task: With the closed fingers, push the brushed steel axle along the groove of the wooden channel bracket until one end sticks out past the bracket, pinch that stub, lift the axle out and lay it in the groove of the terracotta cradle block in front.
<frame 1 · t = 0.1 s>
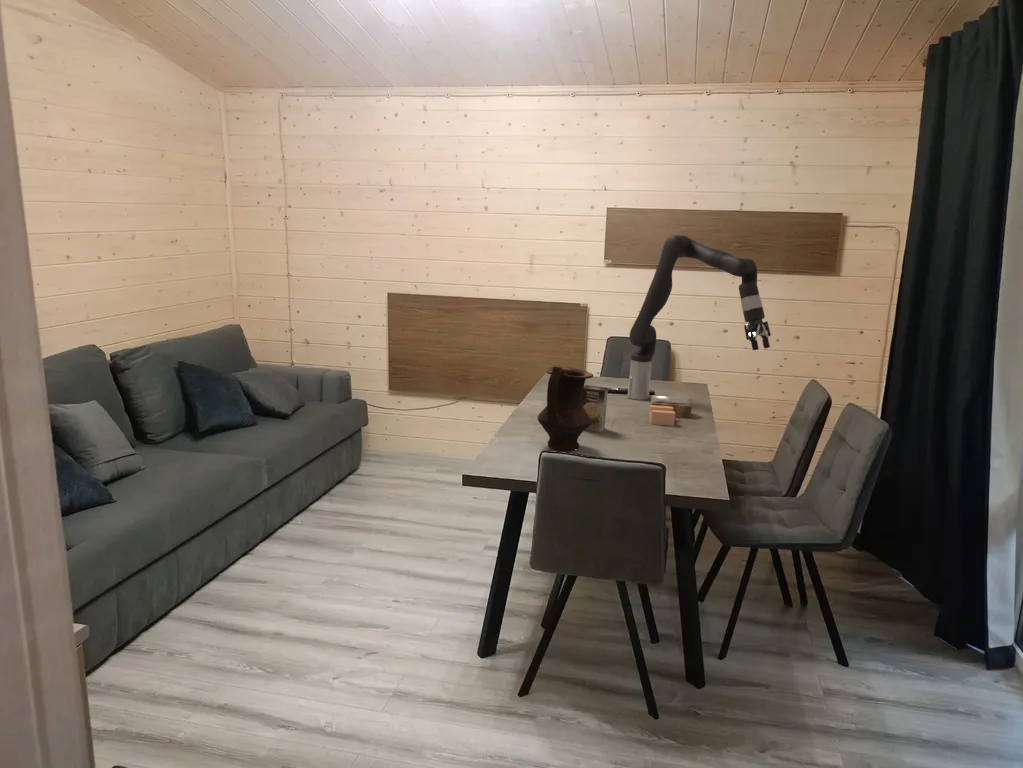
hand: (761, 349, 283), 31 cm above the table, tool tilted 20°, fingers open, 8 cm apart
coffee box: (591, 429, 276), on the table
jug: (561, 447, 251), on the table
terracotta cradle: (661, 421, 291), on the table
steel axle: (670, 405, 302), point 3 cm above the table, touching wooden channel bracket
wooden channel bracket: (669, 413, 303), on the table
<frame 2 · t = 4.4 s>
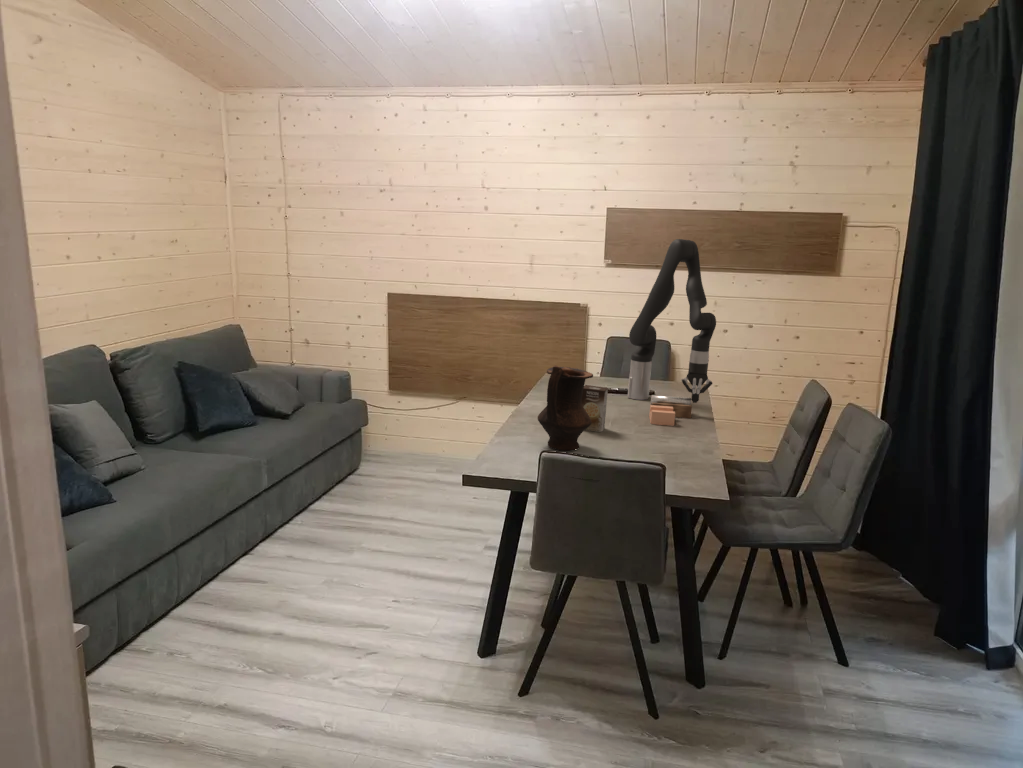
hand: (694, 402, 301), 6 cm above the table, tool pointing down, fingers closed
steel axle: (670, 405, 302), point 4 cm above the table, touching gripper, wooden channel bracket
everything else where it was.
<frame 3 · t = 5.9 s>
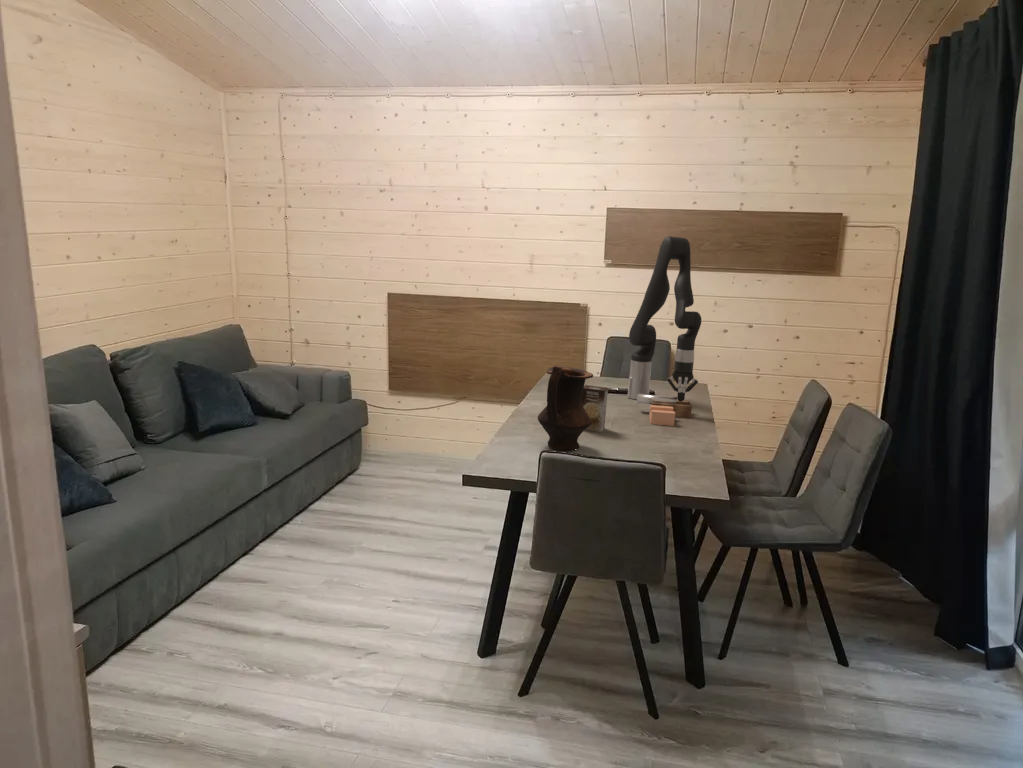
hand: (680, 401, 301), 6 cm above the table, tool pointing down, fingers closed
steel axle: (656, 404, 303), point 4 cm above the table, touching gripper, wooden channel bracket
everything else where it was.
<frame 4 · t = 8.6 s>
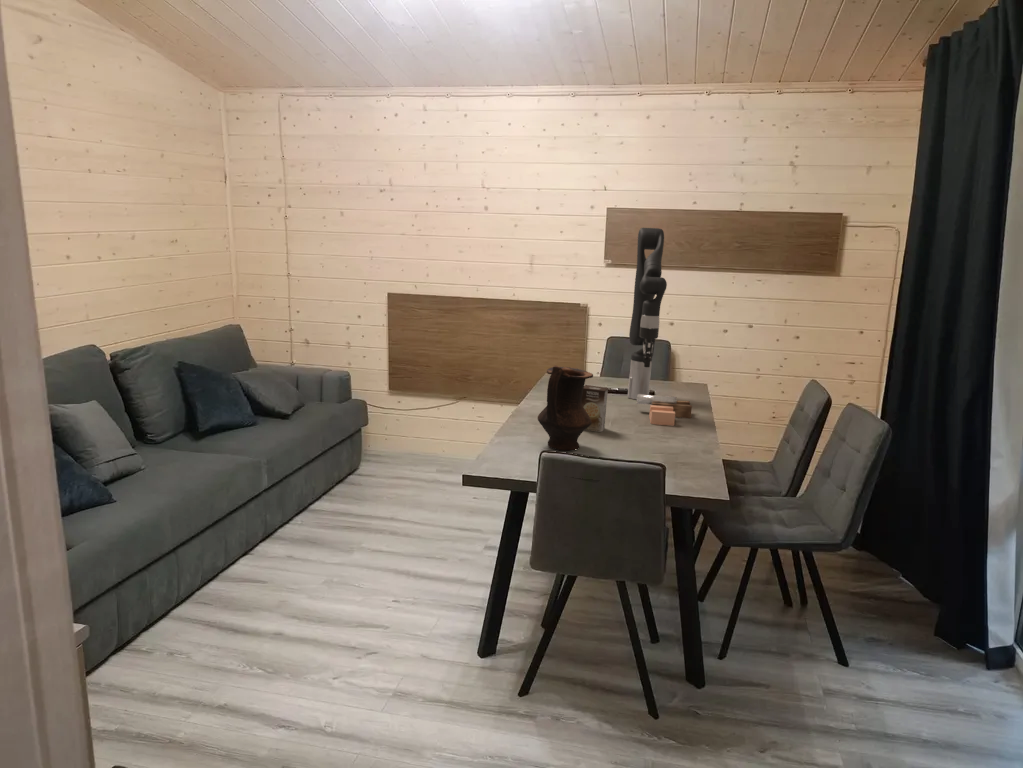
hand: (646, 365, 300), 20 cm above the table, tool pointing down, fingers open, 8 cm apart
steel axle: (656, 404, 303), point 4 cm above the table, touching wooden channel bracket
everything else where it was.
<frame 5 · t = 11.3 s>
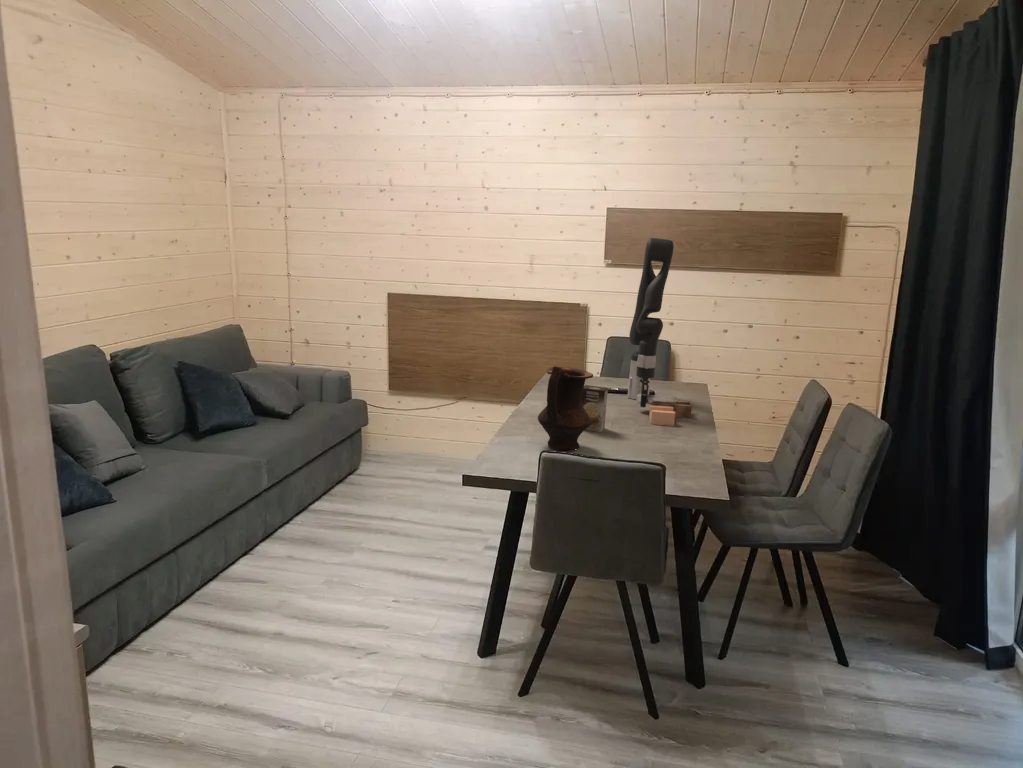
hand: (642, 405, 304), 3 cm above the table, tool pointing down, fingers closed on steel axle, 4 cm apart
steel axle: (656, 404, 303), point 4 cm above the table, touching gripper, wooden channel bracket
everything else where it was.
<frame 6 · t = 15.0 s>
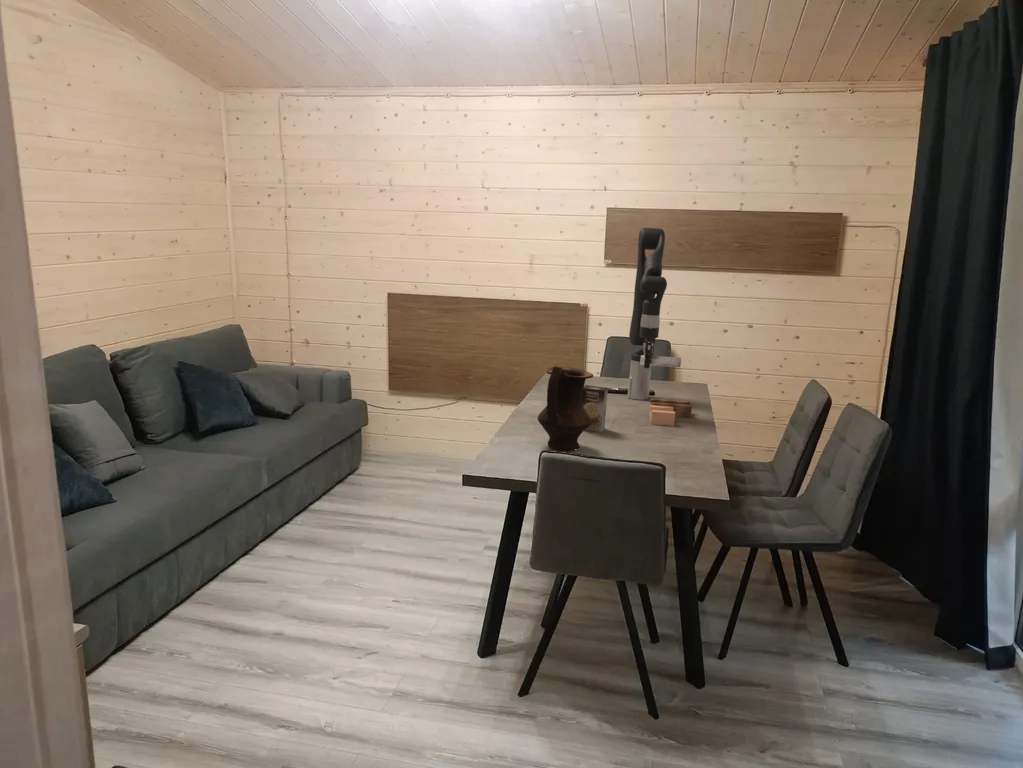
hand: (646, 366, 299), 19 cm above the table, tool pointing down, fingers closed on steel axle, 4 cm apart
steel axle: (659, 366, 298), point 20 cm above the table, touching gripper
everything else where it was.
when the fingers open (4 cm above the table, at t = 19.0 s): steel axle drops 2 cm, resting on terracotta cradle.
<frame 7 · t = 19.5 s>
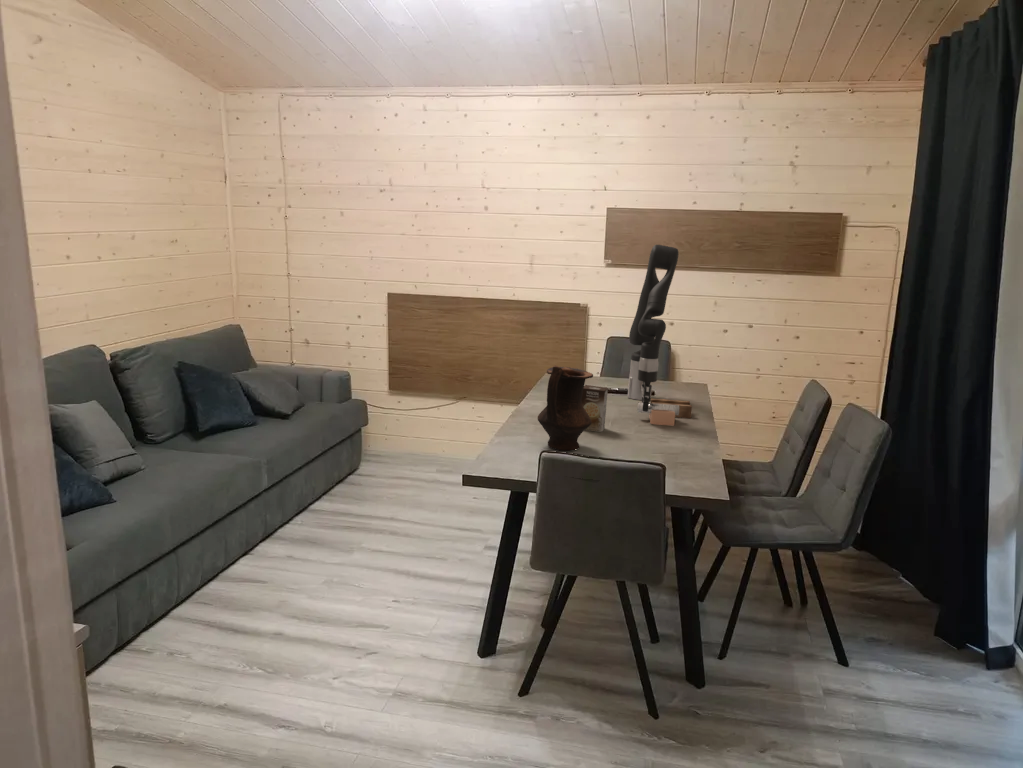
hand: (644, 408, 291), 5 cm above the table, tool pointing down, fingers open, 8 cm apart
steel axle: (657, 413, 291), point 3 cm above the table, touching terracotta cradle
everything else where it was.
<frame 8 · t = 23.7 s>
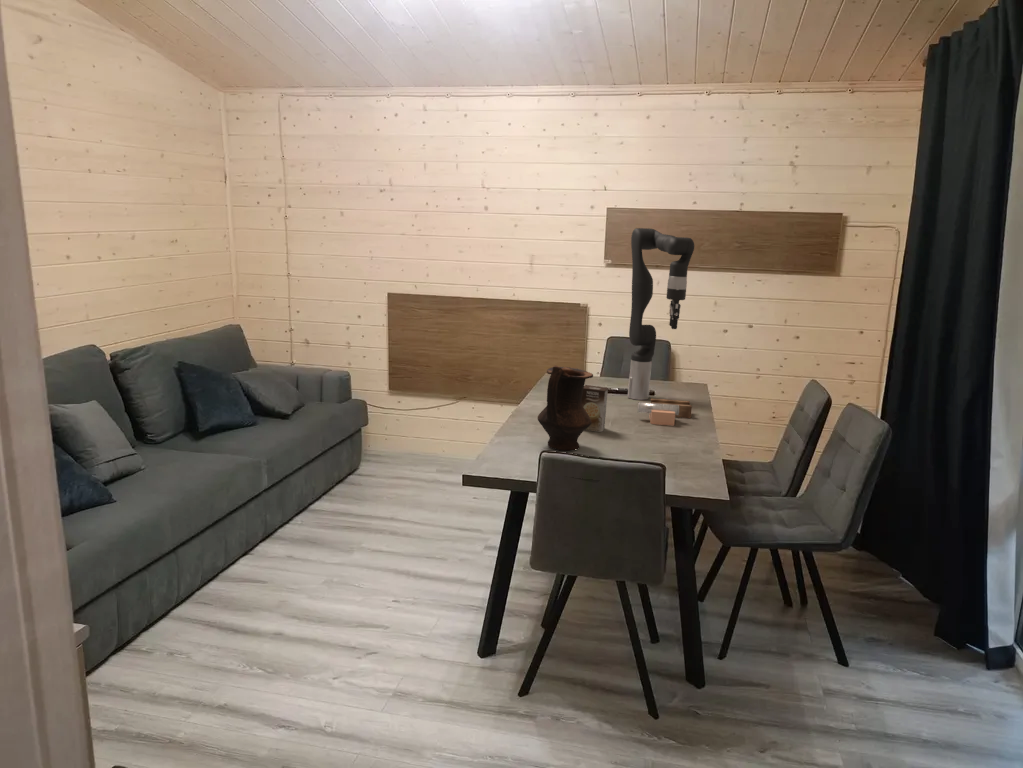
hand: (673, 327, 296), 36 cm above the table, tool pointing down, fingers open, 8 cm apart
steel axle: (657, 413, 291), point 3 cm above the table, tilted 6°, touching terracotta cradle
everything else where it was.
at the end: steel axle 0.9 cm off-centre on the terracotta cradle, point 3.0 cm above the terracotta cradle's base; steel axle touching terracotta cradle; the gripper is holding nothing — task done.
